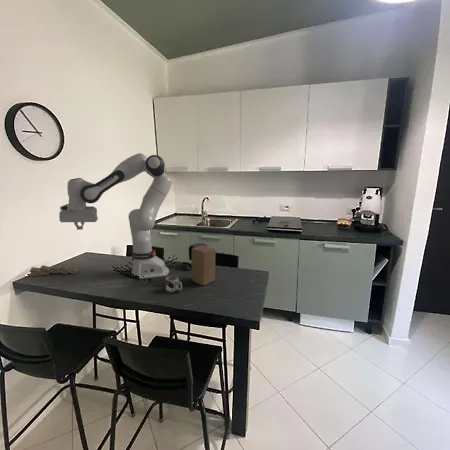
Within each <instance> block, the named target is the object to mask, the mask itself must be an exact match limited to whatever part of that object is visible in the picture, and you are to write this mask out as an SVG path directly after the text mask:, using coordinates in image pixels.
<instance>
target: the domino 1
mask: <svg viewBox="0 0 450 450" xmlns="http://www.w3.org/2000/svg"><path fill="white" fill-rule="evenodd" d="M27 275H28V276H27V277H38V276H39V277H40V276H45V274H38V273H30V274H27Z"/></svg>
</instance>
